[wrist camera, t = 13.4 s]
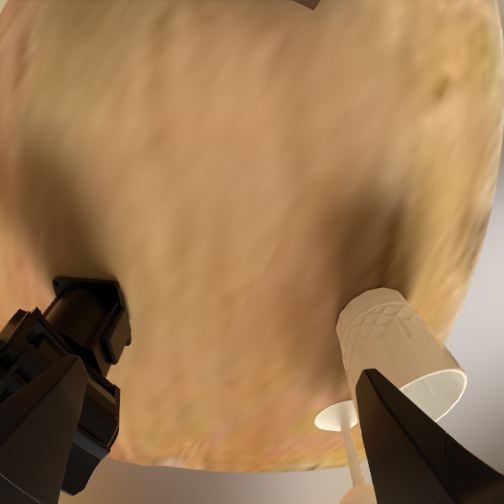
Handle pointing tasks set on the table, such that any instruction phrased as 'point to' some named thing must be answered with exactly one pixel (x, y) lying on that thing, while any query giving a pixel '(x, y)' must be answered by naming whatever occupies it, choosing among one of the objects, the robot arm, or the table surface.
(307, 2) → the camera body
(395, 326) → the white cup
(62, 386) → the robot arm
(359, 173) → the table surface
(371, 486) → the champagne flute
